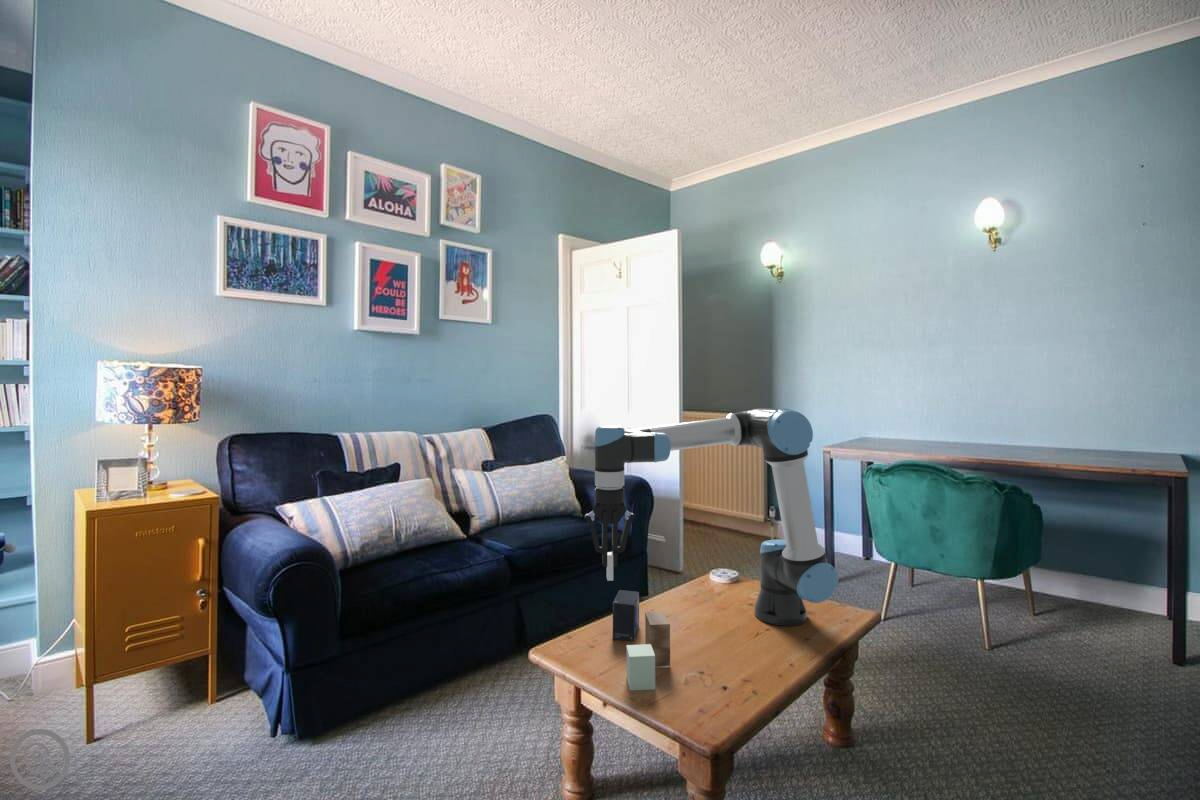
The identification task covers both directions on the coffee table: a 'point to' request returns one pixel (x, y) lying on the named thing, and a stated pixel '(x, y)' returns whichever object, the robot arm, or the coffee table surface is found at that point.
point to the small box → (625, 615)
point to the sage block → (640, 667)
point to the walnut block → (658, 637)
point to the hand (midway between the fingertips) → (609, 578)
